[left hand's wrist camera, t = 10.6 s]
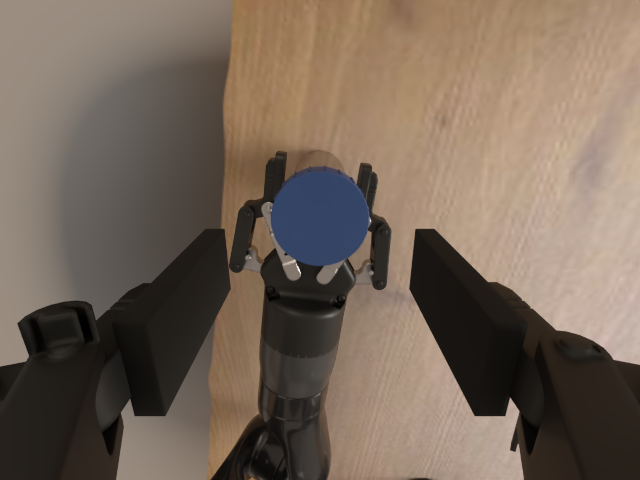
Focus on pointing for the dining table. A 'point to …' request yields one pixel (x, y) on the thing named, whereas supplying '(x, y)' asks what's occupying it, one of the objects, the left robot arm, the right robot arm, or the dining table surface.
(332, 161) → the jar
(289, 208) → the lid
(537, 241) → the dining table surface
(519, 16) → the dining table surface
